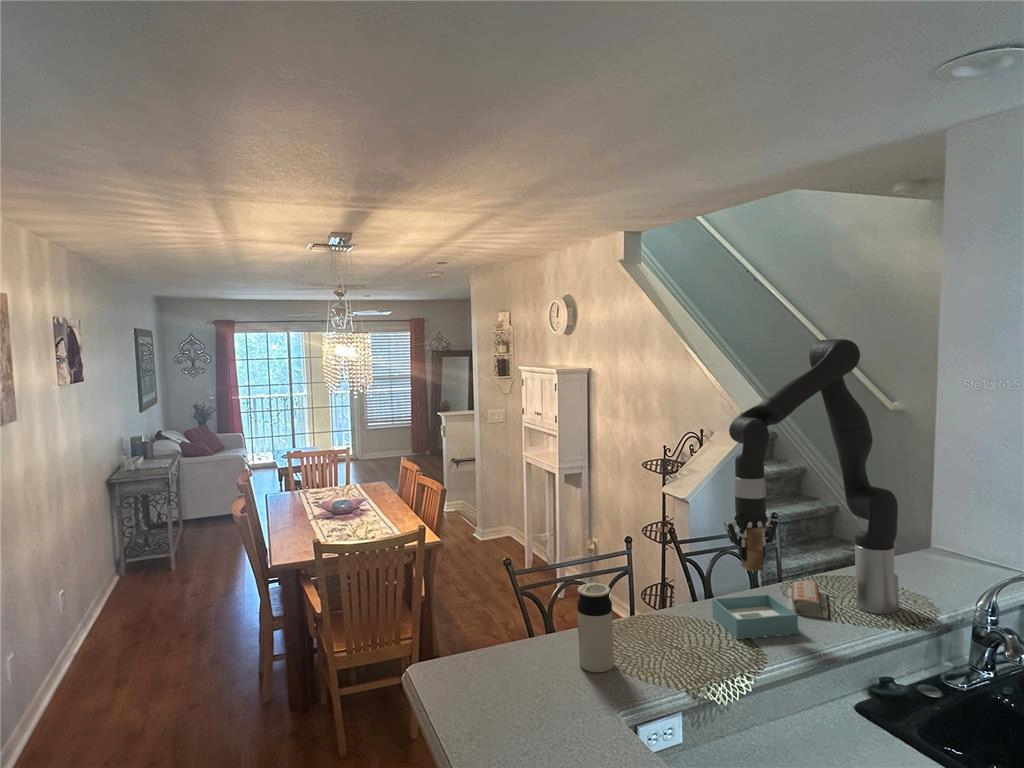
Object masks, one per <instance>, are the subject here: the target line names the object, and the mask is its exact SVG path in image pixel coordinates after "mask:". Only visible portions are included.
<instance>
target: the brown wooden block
mask: <svg viewBox="0 0 1024 768" xmlns="http://www.w3.org/2000/svg"><path fill="white" fill-rule="evenodd" d="M763 531H764V527H763V528H762V527H760V528H758V527H751V528H747V539H746V546H745V547H746V550H747V561H742V560H741V559H740V562H741V563H740V564H741V567H742V568H743V569H745V570H747V571H748V572H754V571H757V572H758V571H765V570H764V569H765V565H764V560H763ZM741 532H742V531H741ZM742 533H743V534H744V532H742Z"/></svg>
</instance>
